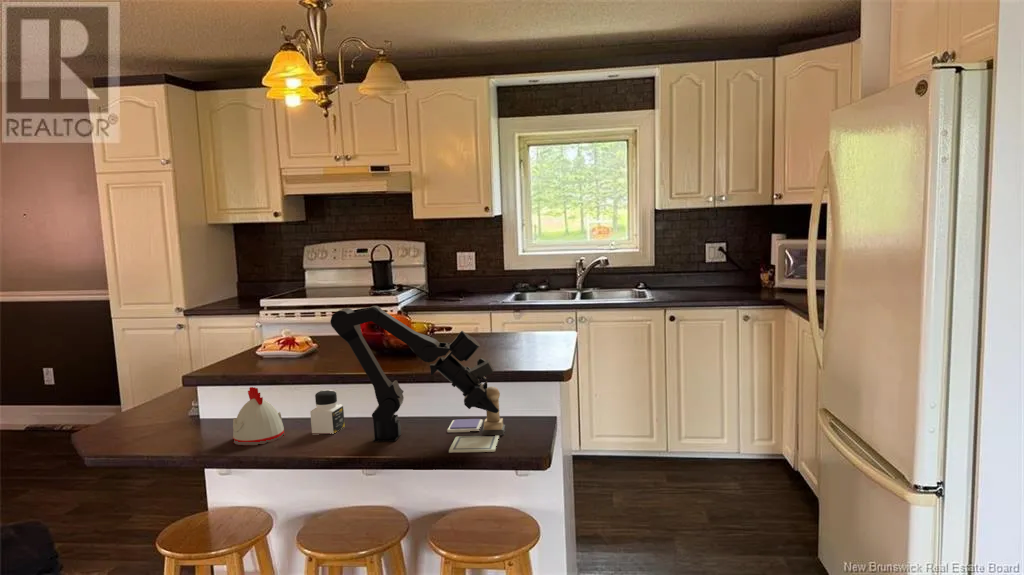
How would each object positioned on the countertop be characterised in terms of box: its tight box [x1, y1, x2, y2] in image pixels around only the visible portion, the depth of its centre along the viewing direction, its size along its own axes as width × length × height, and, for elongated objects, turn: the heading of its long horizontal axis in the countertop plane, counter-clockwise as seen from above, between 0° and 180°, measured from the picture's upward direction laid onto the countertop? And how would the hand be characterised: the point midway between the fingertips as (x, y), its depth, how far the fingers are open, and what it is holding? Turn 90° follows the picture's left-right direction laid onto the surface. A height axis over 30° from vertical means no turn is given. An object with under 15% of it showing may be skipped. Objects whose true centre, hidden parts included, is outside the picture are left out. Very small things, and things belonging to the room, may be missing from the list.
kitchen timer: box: [232, 386, 285, 442], centre depth 188 cm, size 14×14×15 cm
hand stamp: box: [481, 386, 506, 436], centre depth 182 cm, size 6×5×13 cm
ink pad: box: [446, 418, 484, 433], centre depth 189 cm, size 9×9×1 cm
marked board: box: [448, 435, 500, 454], centre depth 173 cm, size 12×11×1 cm
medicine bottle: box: [309, 389, 345, 435], centre depth 192 cm, size 7×7×12 cm
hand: (497, 409), depth 182 cm, fingers open, 5 cm apart
